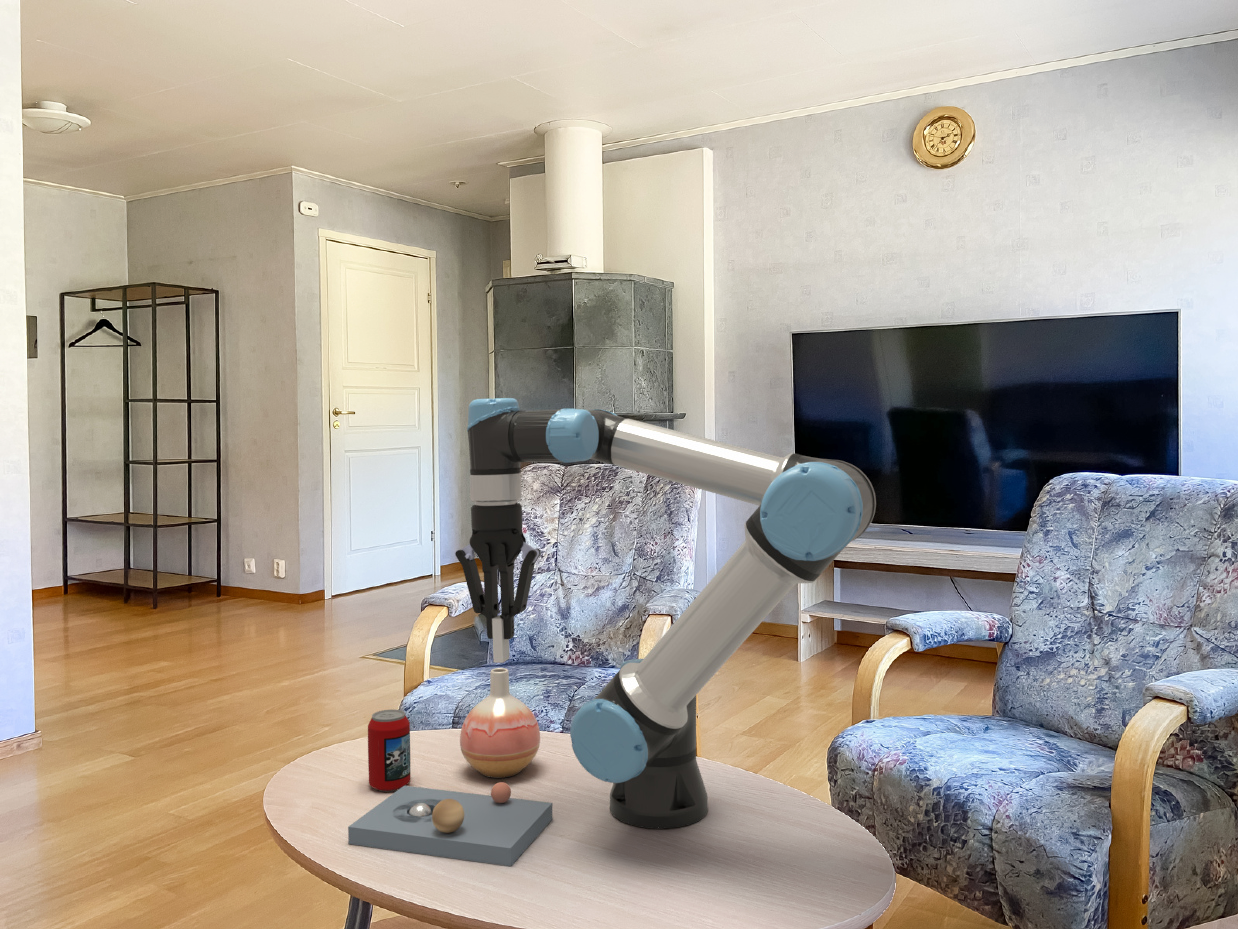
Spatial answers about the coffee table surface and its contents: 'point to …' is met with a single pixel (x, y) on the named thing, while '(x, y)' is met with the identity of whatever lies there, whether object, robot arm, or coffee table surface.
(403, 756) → the beverage can
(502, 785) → the rubber ball
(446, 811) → the wooden ball
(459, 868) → the coffee table surface
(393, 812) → the plate
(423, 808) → the steel ball
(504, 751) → the vase
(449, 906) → the coffee table surface
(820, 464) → the robot arm
